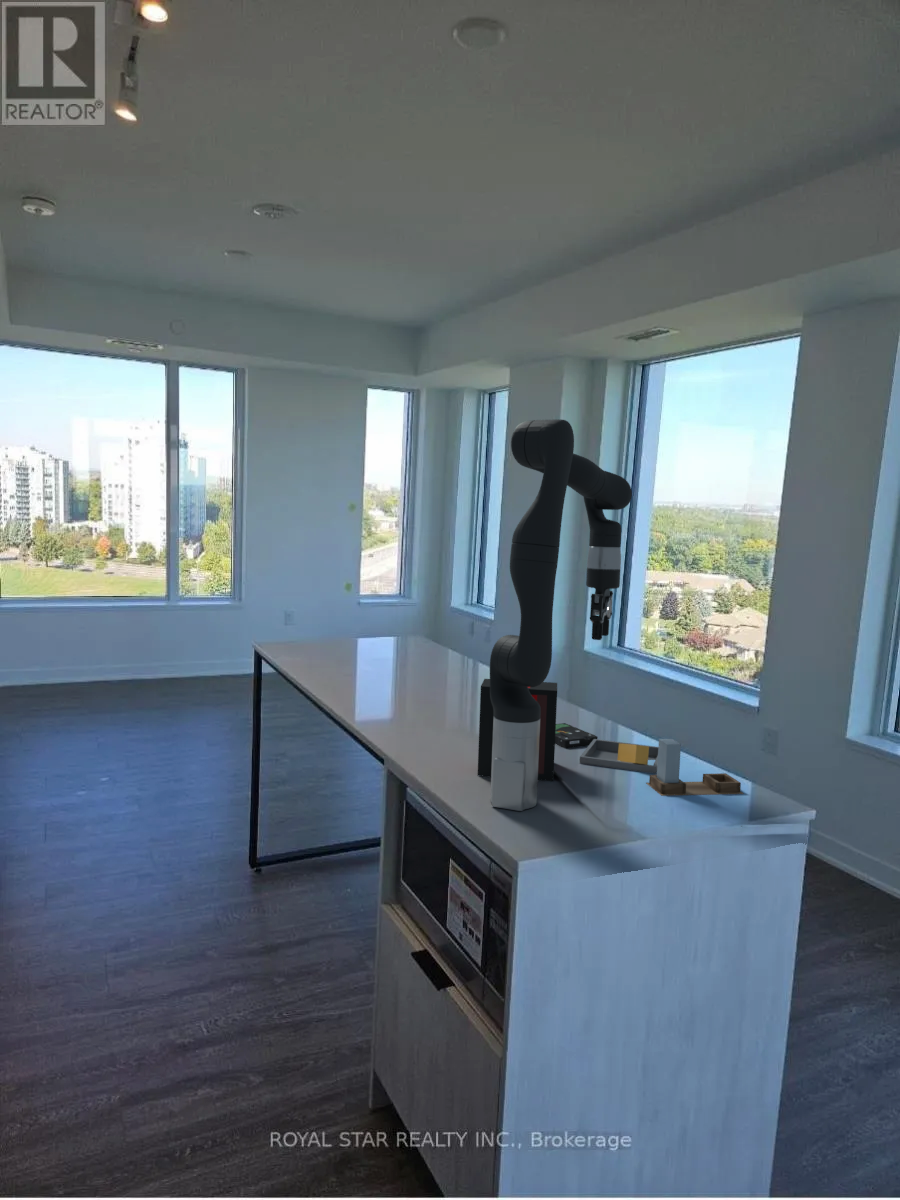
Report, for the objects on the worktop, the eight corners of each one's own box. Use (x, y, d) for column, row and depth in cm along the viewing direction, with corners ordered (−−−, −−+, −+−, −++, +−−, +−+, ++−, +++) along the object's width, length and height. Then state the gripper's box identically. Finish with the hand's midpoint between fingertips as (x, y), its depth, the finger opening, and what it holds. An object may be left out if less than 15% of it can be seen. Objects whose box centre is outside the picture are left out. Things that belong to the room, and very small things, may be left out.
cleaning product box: (553, 769, 178) (557, 682, 176) (553, 781, 169) (557, 690, 167) (481, 763, 180) (484, 678, 178) (477, 775, 171) (480, 686, 169)
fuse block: (743, 800, 160) (744, 784, 160) (661, 802, 157) (662, 785, 157) (724, 787, 168) (725, 772, 168) (645, 789, 165) (646, 773, 165)
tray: (655, 780, 172) (656, 766, 171) (579, 769, 178) (579, 756, 177) (663, 759, 187) (664, 747, 187) (593, 750, 194) (594, 738, 193)
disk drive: (598, 747, 199) (564, 732, 213) (598, 736, 199) (564, 722, 212) (564, 750, 195) (532, 735, 208) (565, 740, 194) (533, 725, 208)
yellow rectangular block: (629, 762, 183) (647, 764, 173) (617, 760, 182) (634, 763, 172) (630, 744, 183) (649, 746, 174) (618, 743, 183) (636, 744, 173)
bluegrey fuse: (678, 791, 160) (680, 744, 159) (664, 792, 159) (667, 744, 158) (669, 785, 164) (672, 738, 163) (656, 785, 163) (658, 739, 162)
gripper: (615, 568, 169) (611, 642, 170) (625, 566, 182) (621, 635, 184) (580, 567, 172) (577, 640, 173) (593, 565, 185) (589, 632, 186)
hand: (600, 637), depth 178 cm, fingers open, 8 cm apart
